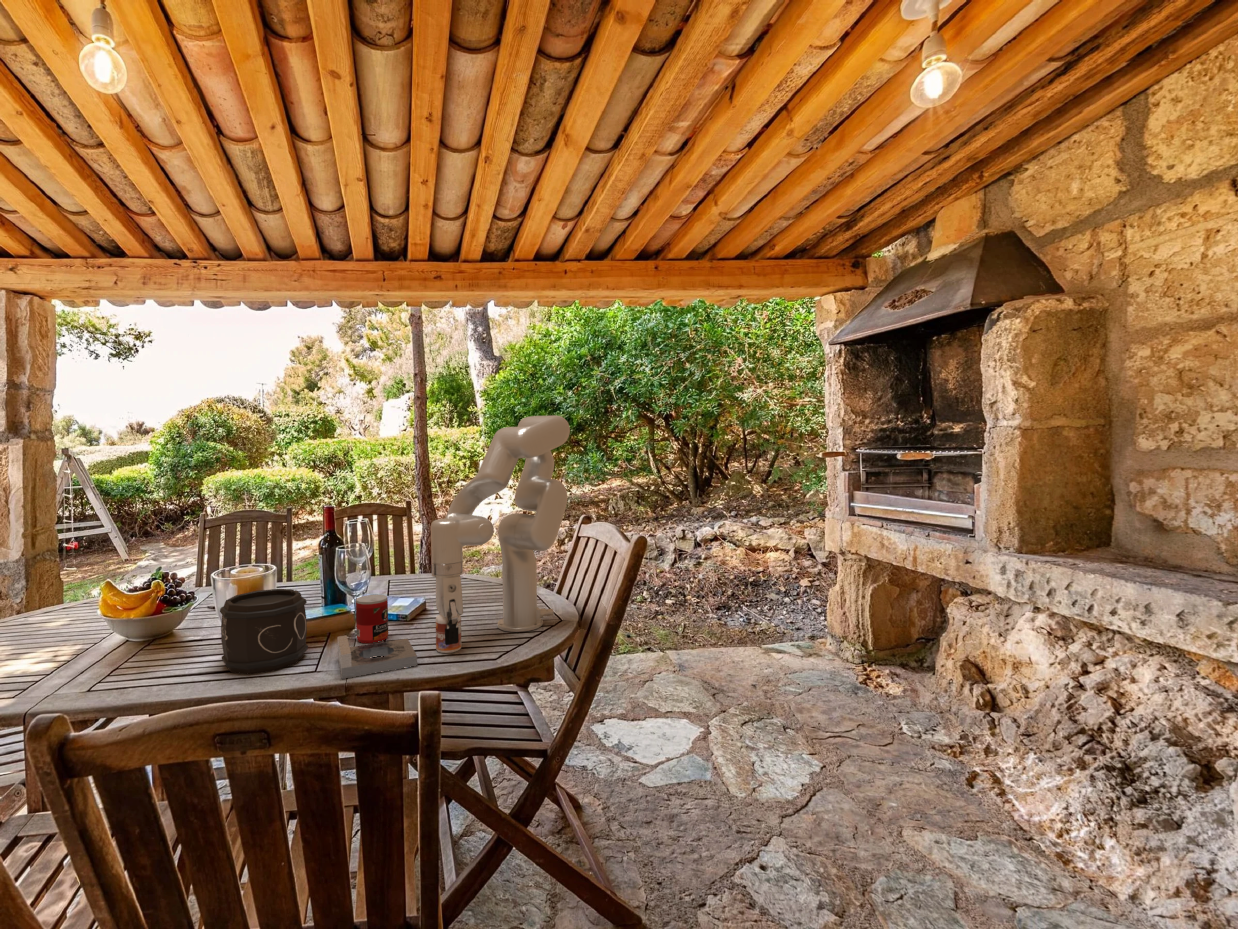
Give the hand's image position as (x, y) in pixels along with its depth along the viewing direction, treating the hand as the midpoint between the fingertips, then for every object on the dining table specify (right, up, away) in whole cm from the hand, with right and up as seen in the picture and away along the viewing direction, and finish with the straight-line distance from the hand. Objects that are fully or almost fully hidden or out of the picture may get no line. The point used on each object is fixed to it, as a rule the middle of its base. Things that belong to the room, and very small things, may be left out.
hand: (448, 639), depth 153 cm
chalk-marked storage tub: (-41, -4, -7) cm, 42 cm away
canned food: (-23, -3, +9) cm, 24 cm away
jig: (-15, -3, -9) cm, 17 cm away
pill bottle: (0, -3, 0) cm, 3 cm away
